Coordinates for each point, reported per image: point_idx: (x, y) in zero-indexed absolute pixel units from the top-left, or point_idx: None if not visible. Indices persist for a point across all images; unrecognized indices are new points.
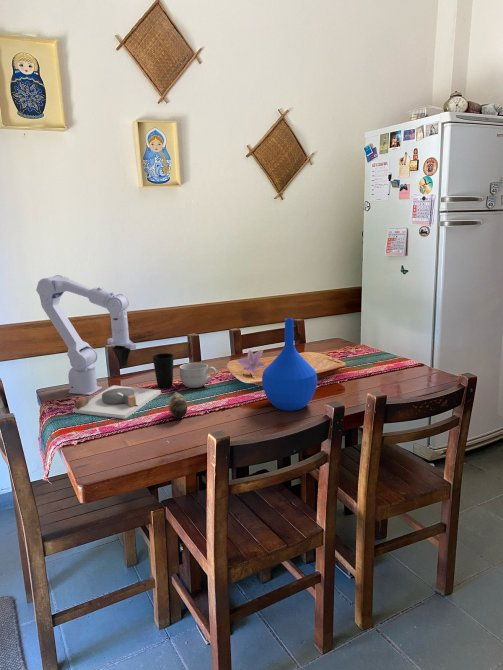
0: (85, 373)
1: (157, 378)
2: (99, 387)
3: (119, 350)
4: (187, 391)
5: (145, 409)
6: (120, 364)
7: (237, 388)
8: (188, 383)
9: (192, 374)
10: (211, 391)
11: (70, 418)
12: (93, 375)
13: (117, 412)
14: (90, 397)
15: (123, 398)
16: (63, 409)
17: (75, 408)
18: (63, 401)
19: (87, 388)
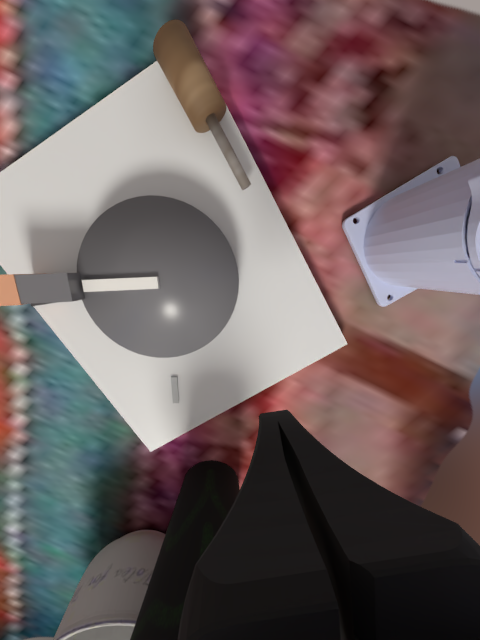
0: (457, 192)
1: (204, 496)
2: (385, 293)
3: (195, 599)
4: (110, 511)
5: (28, 322)
6: (277, 418)
7: (34, 619)
8: (106, 548)
9: (67, 612)
10: (59, 559)
11: (126, 3)
12: (424, 258)
13: (8, 197)
14: (228, 157)
15: (78, 271)
16: (265, 32)
17: None
18: (367, 85)
19: (380, 219)
